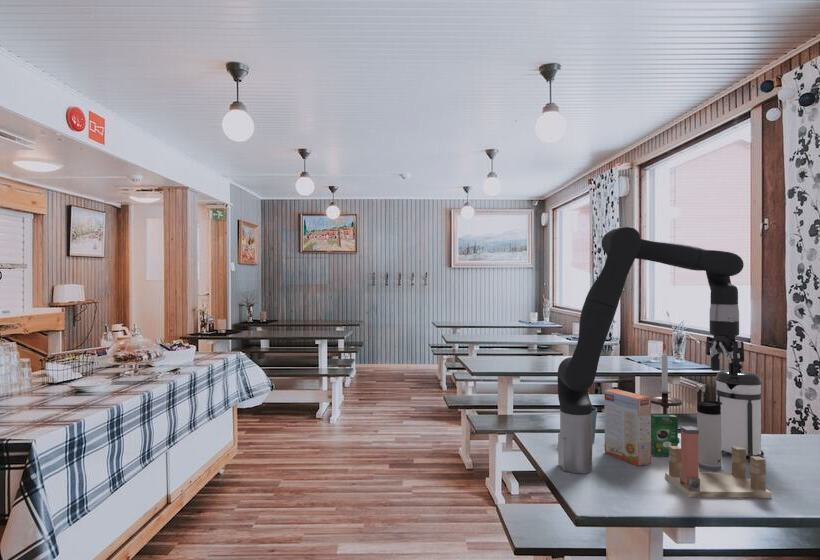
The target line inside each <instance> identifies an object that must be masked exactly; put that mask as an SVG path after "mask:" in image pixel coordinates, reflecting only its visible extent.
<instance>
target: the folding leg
mask: <svg viewBox="0 0 820 560" xmlns="http://www.w3.org/2000/svg"><path fill="white" fill-rule="evenodd" d="M698 434H699V430H698V429H697V427H694V426H680V448H681V480H682V481H683V482H684V483H685V484H687V485H689V478H699V473H700V471H699V469H700V467H699V457H698Z"/></svg>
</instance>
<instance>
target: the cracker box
mask: <svg viewBox="0 0 820 560" xmlns="http://www.w3.org/2000/svg"><path fill="white" fill-rule="evenodd" d="M651 414H652V403H651V396H646V395H643V394H642V395H641V394H638V393H634V392H629V391H627V390H622V389H618V388H613V389H605V390H604V453H605V452H606V454H608V455H611V456H612V457H615V458H618V459H621V460H623V461H625V462H627V463H630V464H633V465H634V466H637V467H640V466H646V465H651V464H652V455H651Z"/></svg>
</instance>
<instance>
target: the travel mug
mask: <svg viewBox="0 0 820 560" xmlns="http://www.w3.org/2000/svg"><path fill="white" fill-rule="evenodd" d="M696 405H697V406H696V408H697V409H696V412H697V413H696V421H697V422H696V424H697V425H696V426H697V427H696V429H698V430H699V434H698V457H699V468H701V469H703V470H706V469H707V470H708V471H712V472H713V471H715V472H716V471H721V470H722V468H723V467H722V453H721V405H722V402H720V401H717V400H703V401H699V402H698V401H697V404H696ZM707 470H706V471H707Z"/></svg>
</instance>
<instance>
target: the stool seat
mask: <svg viewBox="0 0 820 560" xmlns="http://www.w3.org/2000/svg"><path fill="white" fill-rule="evenodd" d="M766 464H767V463H766V459H765V458H763V457H762V456H757V455H755V456H750V464H749V465H750V466H749V467H750V469H749V471H750V474H749V475H750V477H749V478H748V476H747V458H746V449H744V448H742V447H732V454H731V472H699V478H689V485H687V484H685V483H684V482H683V481H682V480H681V446H680V447H679V446H669V456H668V472H667V471H664V475H665V476H664V478H665V479H667V481H669V482H670V483H671V484H673V486H675V487H676V488H677V489H679V490H680V491H681V492H682V493H683V494H685V495H686V496H687V497H688V498H727V497H729V499H730V497H752V498H751V499H771V498H772V491H770V490H768V489H767V480H766V478H767V477H766V475H767V471H766V469H767V468H766V466H767V465H766ZM753 497H754V498H753ZM756 497H757V498H756Z"/></svg>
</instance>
